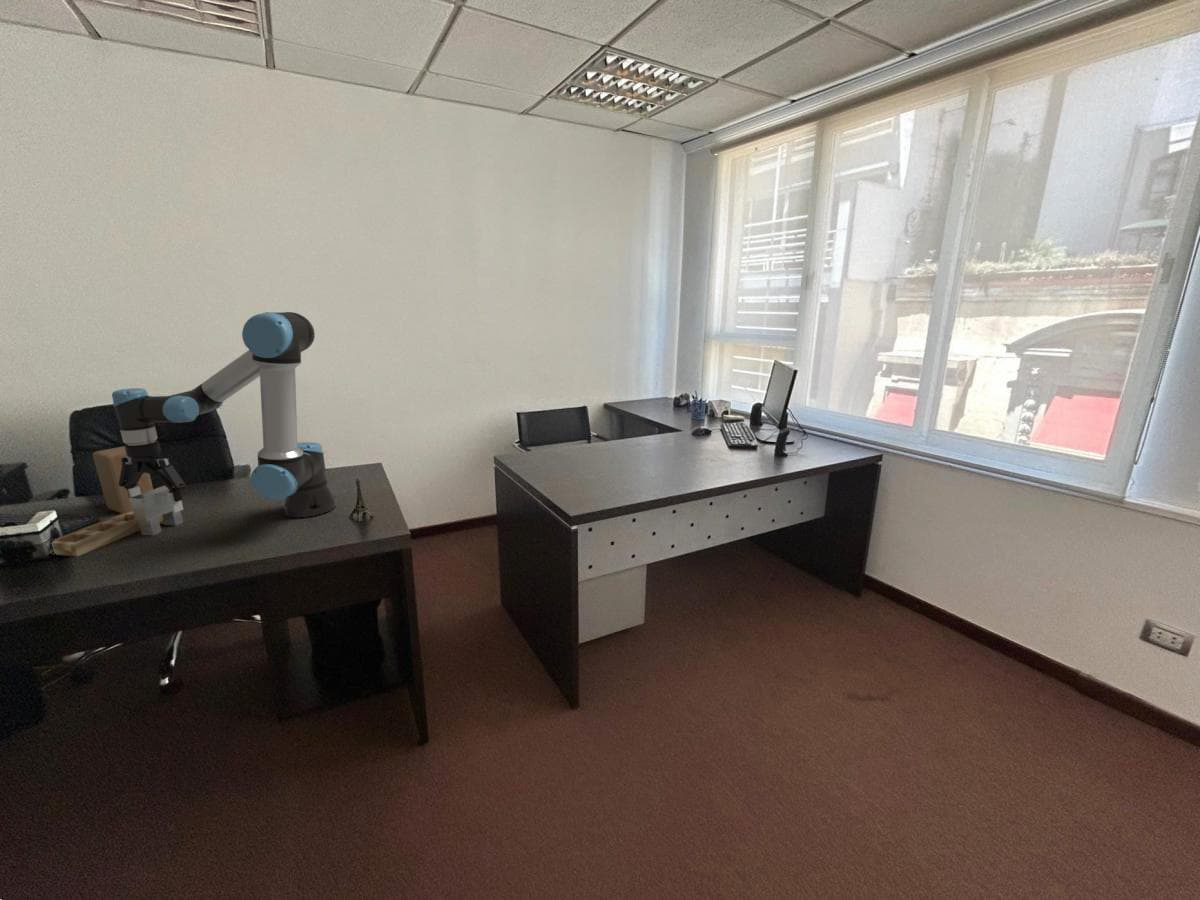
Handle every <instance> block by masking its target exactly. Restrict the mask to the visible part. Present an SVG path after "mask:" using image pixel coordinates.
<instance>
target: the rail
mask: <svg viewBox="0 0 1200 900" xmlns="http://www.w3.org/2000/svg"><path fill="white" fill-rule="evenodd" d="M158 519H159V523H161V522H164V521H163V517H162V515H161V516H159V517H158ZM137 532H141V529H140V526H139V522H138V521H137V520H135V518H134V514H133V510H131V511H128V512H125V513H120V514H118V515H115V516H112V517H109V518H108V519H104V520H102V521H99V522H96V523H94V524H91V525H88V526H86V527H84V528H81V529H78V530H75V531H72V532H70V533H68V534H65V535H61V536H60V537H57V539H56V538H54V539H55V540H54V539H53V540H54V541H53V542H52V543H51V544H52V547H53V551H54V553H55V554H56V556H59V555H60V556H65V557H66V556H69V557H80V556H83V555H84V554H87V553H90V552H92V551H94V550H96V549H99V548H101V547H104V546H106V545H109V544H111V543H113V542H116V541H118V540H121V539H123V538H125V537H128V536H130V535H133V534H135V533H137ZM55 554H54V555H55Z"/></svg>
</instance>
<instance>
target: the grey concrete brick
mask: <svg viewBox="0 0 1200 900" xmlns="http://www.w3.org/2000/svg"><path fill="white" fill-rule="evenodd" d="M172 487H173V486H172ZM169 491H170V490H169V489H168V488H167V487H166V486H165V485H162V486H159V487H157V488H153V490H151V491H148V492H145V493H142V494H140V495H137V496H134V497H131V498H129V499H130V503H131V506H132V510H133V514H134V518H135V520H137V521H138V522H139V526H140V529H141V530H140V533H141V536H152V537H154V536H157V535H158V534H161V533H162V527H161V524H160V523H161V522H159V519H158V517H159V516H161V515H162V517H163V521H162V522H163V525H164V526H170V527H171V526H173V527H176V526H179V525H180V524H183V523H184V520H183V516H182V510H181V511H178V512H176V513H173V511H172V507H171V503H170V499H169V495H168V492H169Z"/></svg>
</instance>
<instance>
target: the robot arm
mask: <svg viewBox="0 0 1200 900" xmlns="http://www.w3.org/2000/svg"><path fill="white" fill-rule="evenodd" d="M241 333H242V334H241V336H242V341H243V343H244V346H245V347H246V348H247V349H248V350H247V351H245V352H244V353H243V354H241V355H240V356H238V357H237V358H236V359H234V360H233V361H231V362H230V363H228V364H227V365H225V367H223V368H221V369H220V370H219V371H217V372H216V373H214V374H213V375H212V376H210V377H208V379H206V380H205V381H203V382H202V383H201V384H199V385H198V386H195V388H193V389H192V390H187V391H183V392H179V393H176V394H172V395H160V396H159V395H158V396H156V395H155V396H151V395H149V393H148V392H147V390H146V389H145V388H138V387H136V388H135V387H134V388H133V387H131V388H123V389H118V390H114V391H113V392H112V393H111V397H112V402H113V403H112V406H113V408H114V409H113V410H114V411H115V412H114V413H115V415H116V418H117V422H118V425H119V429H120V430H119V432H120V435H121V438H122V442H123V444H125V445H124V446H125V450H126V454H127V456H128V457H124V458H122V459H121V460H122V469H121V474H120V479H119V486H120V487H122V486H123V487H125V489H127V491H128V495H129V498H131V497H134V496H137V495H140V494H141V491H140V488H139V487H138V484H137V483H138V481H139V480H140V478H141V476H142V474H143V473H149V474H151V475H152V476H155V477H156V478H157V479H158V480H159V481H160V482H161V484H162V485H163V486H166V487H167V488H168V489H169V490H170V491H169V492H168V495H169V499H170V503H171V507H172V511H173V513H176V512H178V511H181V512H182V511H183V510H184V506H183V497H182V493H181V490H182V489H185V488H187V484H186V483H185V481H184V480H183V479H182V477H181V476H180V474H179V473H178V471H177V470H176V469H175V467H174V466H173V463H172V461H171V459H170V458H169V457H166V458H160V453H161V452H162V449H161V446H160V445H161V444H160V442H159V441H158V440H157V439H158V435H157V429H156V425H155V423H176V424H181V423H190V422H193V421H195V420H196V418H197V417H198V416H199V415H203V414H206V413H212V412H214V411H216V410H217V409H219V408H221V407H222V406H223V404H224V401H226V400H227V399H229V398H230V397H232V396H233V395H235V394H236V393H237V392H239V391H240V390H242V389H244V388H245V387H246V386H248V385H249V384H251V383H252V382H254V381H255V380H256V379H258V378H259V380H260V381H259V383H260V386H259V387H260V401H261V402H260V403H261V405H260V406H261V407H260V408H261V424H262V425H261V426H262V442H263V443H262V448H261V449H260V450H259V451H258V452H257V466H256V467H255V468H254V469H253V471H252V472H251V474H250V483H251V485H252V488H253V490H255V492H257V493H258V494H260V496H261V497H263V498H266V499H270V500H283V499H285V504H284V512H285V515H286V516H287V517H289V518H297V519H301V518H300V517H305V518H310V517H309V516H313V517H316V516H315V515H318V516H320V515H319V514H321V515H323V514H322V513H325V512H327V513H329V512H331V511H333V510H334V509H335V508H336V507H337V499H336V497H335V496H334V494H333V492H332V490H331V488H330V486H329V484H328V478H327V472H326V463H325V453H324V451H323V447H322V444H321V443H319V442H314V441H313V442H312V441H308V442H307V441H305V442H298V425H297V423H298V421H297V387H296V386H297V385H296V383H297V382H296V368H297V367H298V366H299V365H300V364H301V363H302V353H303V352H304V351H306V350H308V349H309V348H310V347H311V346H312V345H313V343H314V341H315V337H316V336H315V329H314V326H313V325H312V323H311V321H309V319H308V318H306V317H305V316H303V315H302V314H300V313H298V312H297V313H296V312H292V311H285V312H283V311H282V312H277V311H276V312H275V311H273V312H271V311H270V312H269V311H267V312H262V313H258V314H255V315H253V316H251V317H250V318H249V319H247V321H246V322H245V323H244V325H243V327H242V332H241ZM125 480H126V481H125ZM135 486H137V487H135ZM172 486H173V487H172ZM335 506H336V507H335ZM334 507H335V508H334ZM333 508H334V509H333ZM332 509H333V510H332ZM330 510H331V511H330ZM328 511H329V512H328ZM325 514H326V513H325Z"/></svg>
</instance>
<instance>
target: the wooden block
mask: <svg viewBox="0 0 1200 900" xmlns="http://www.w3.org/2000/svg"><path fill="white" fill-rule="evenodd" d="M124 457H128V456H127V454H126V450H125V445H124V446H119V447H118V446H117V447H113V448H108V449H103V450H98V451H94V452H92V458H93V462H94V465H95V466H94V467H95V469H96V473H97V476H98V480H99V483H100V486H101V490H102V494H103V497H104V501H105V505H106V507H107V509H109V510H111V511H115V512H117V513H120V514H123V513H125V512H128V511H131V510H132V506H131V503H130V499H129V495H128V491H127V489H125V487H123V486H122V487H120V486H119V479H120V474H121V469H122V460H121V459H122V458H124ZM150 474H151V473H150ZM150 474H149V473H143V474H142V476H141V478H140V480H139V481H138V483H137V484H138V487H139V488H140V491H141V494H142V493H145V492H148V491H151V490H154V487H153V483H152V478H151V475H150ZM125 481H126V480H125ZM135 487H137V486H135Z"/></svg>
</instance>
